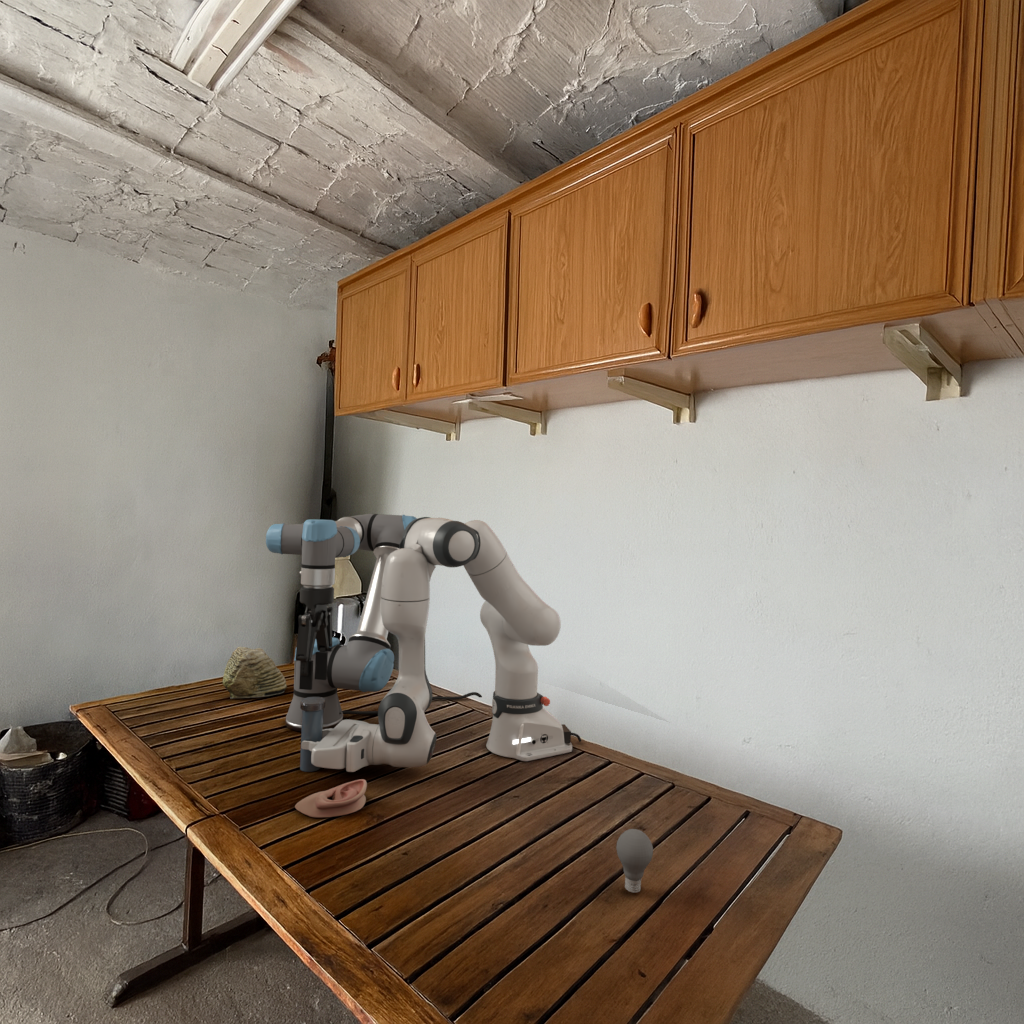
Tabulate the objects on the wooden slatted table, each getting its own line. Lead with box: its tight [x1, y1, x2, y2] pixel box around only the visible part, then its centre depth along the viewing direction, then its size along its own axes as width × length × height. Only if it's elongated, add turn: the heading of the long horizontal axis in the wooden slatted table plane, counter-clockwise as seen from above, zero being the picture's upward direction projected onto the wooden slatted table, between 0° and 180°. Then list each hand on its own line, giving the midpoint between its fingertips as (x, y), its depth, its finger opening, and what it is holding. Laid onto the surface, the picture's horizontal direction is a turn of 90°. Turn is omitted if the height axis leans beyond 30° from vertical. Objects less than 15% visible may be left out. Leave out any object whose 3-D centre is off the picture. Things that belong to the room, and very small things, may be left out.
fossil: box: [222, 646, 288, 699], centre depth 198 cm, size 9×18×15 cm, turn 132°
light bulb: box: [615, 828, 654, 894], centre depth 106 cm, size 6×6×10 cm
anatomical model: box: [294, 778, 368, 819], centre depth 130 cm, size 13×4×12 cm
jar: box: [299, 709, 324, 773], centre depth 148 cm, size 5×5×15 cm
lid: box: [300, 697, 326, 711], centre depth 147 cm, size 6×6×2 cm
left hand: (313, 683), depth 147 cm, fingers open, 7 cm apart
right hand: (307, 739), depth 148 cm, fingers closed on jar, 5 cm apart
